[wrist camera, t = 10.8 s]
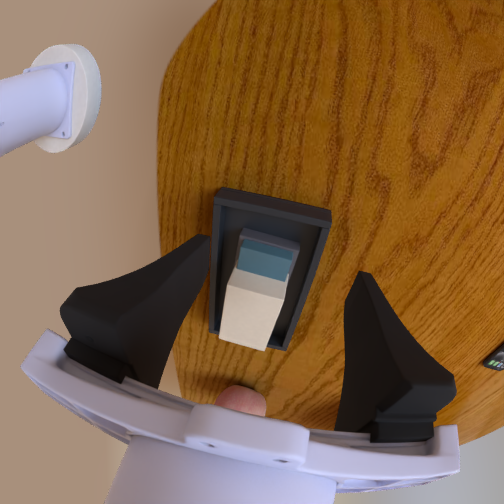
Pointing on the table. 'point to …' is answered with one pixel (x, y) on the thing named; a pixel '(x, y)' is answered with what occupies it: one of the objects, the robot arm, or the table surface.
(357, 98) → the table surface
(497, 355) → the smartphone
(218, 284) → the tray
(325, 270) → the table surface
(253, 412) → the apple
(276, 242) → the toy truck
